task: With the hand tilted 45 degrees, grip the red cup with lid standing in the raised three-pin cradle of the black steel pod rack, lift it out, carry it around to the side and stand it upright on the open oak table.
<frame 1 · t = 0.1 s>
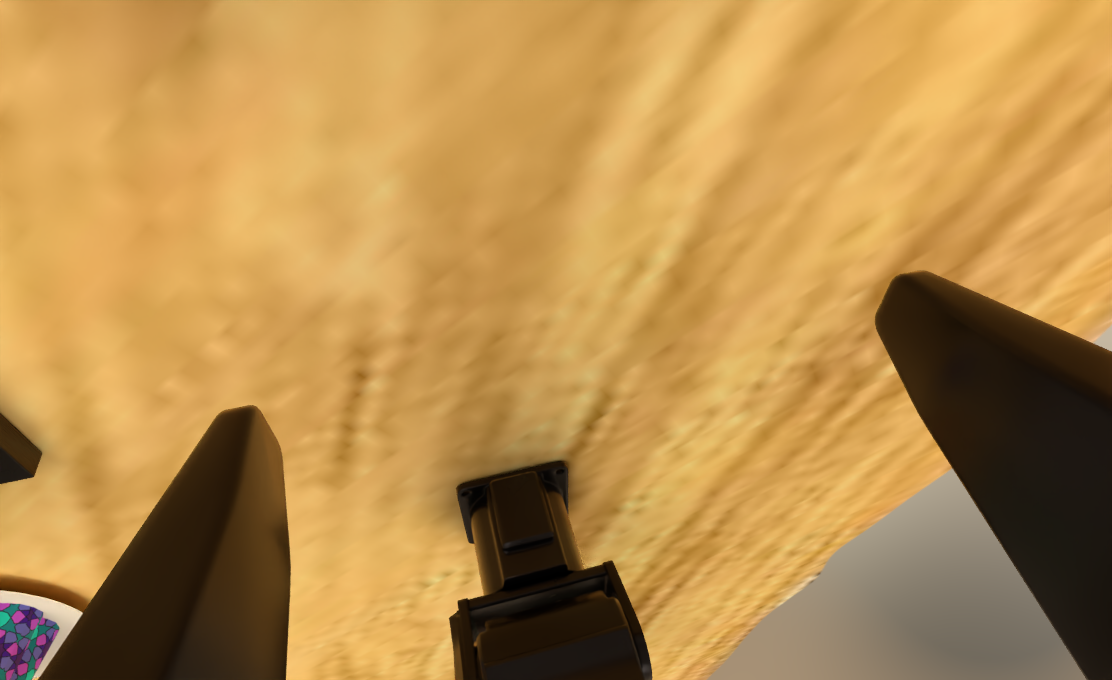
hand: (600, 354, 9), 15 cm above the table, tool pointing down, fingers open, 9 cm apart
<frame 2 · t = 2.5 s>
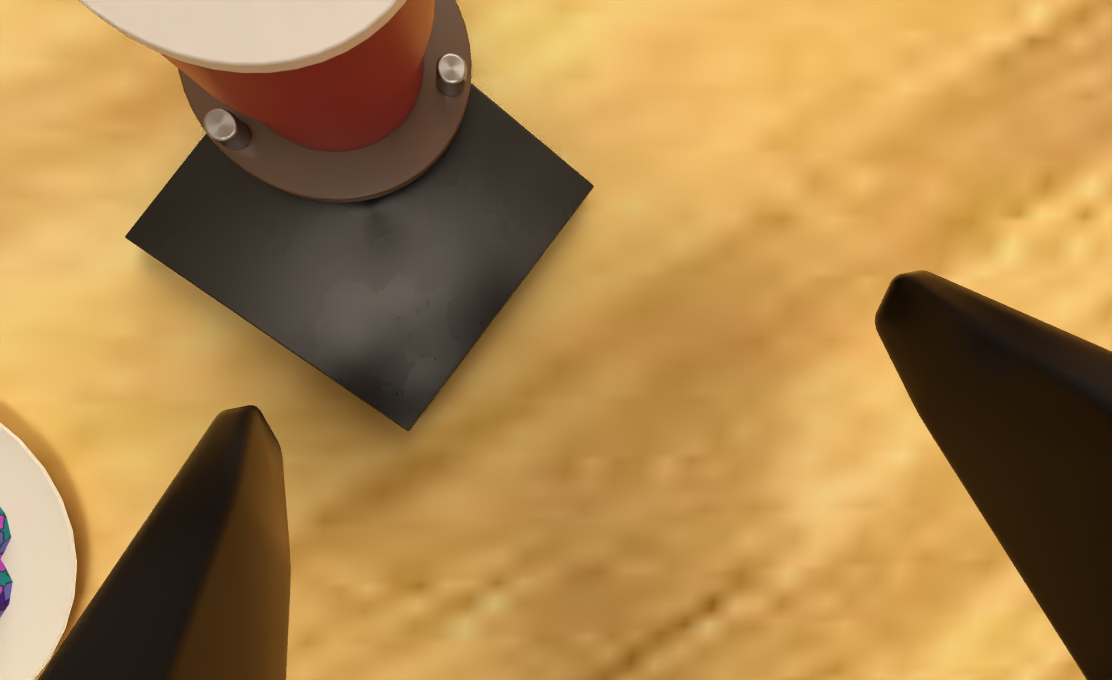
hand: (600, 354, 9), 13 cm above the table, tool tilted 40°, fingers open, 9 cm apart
pod rack: (346, 92, 20), on the table
red cup with lid: (329, 56, 17), point 3 cm above the table, touching pod rack
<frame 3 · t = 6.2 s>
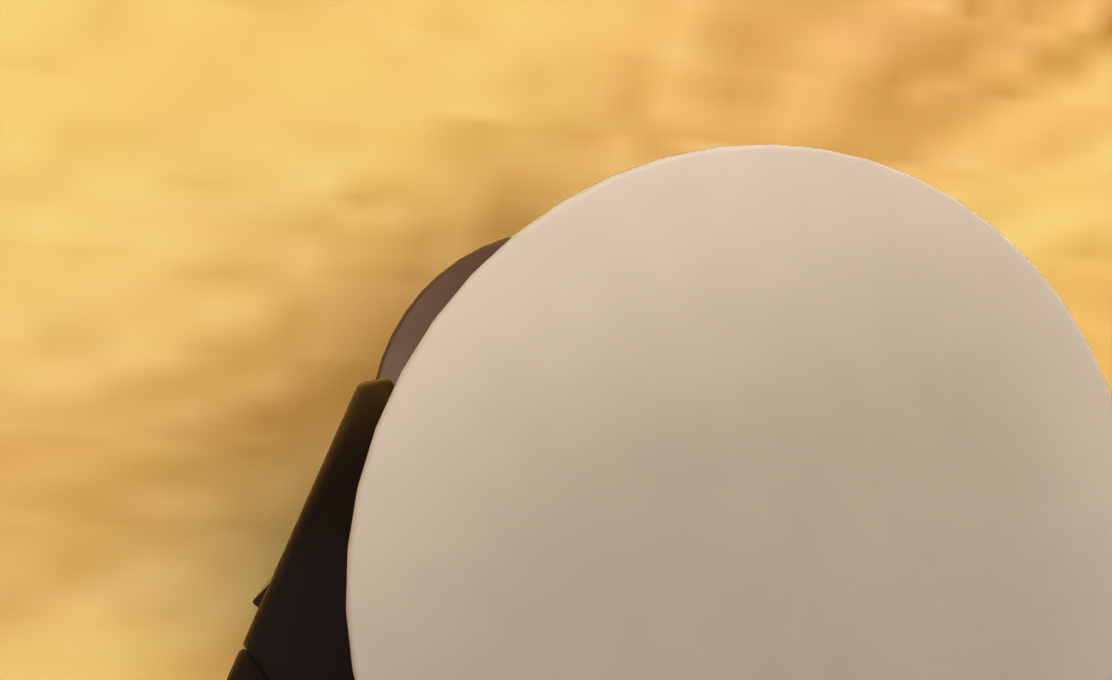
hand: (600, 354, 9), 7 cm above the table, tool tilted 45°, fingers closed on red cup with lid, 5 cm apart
pod rack: (541, 401, 16), on the table
red cup with lid: (564, 417, 13), point 3 cm above the table, touching gripper, pod rack
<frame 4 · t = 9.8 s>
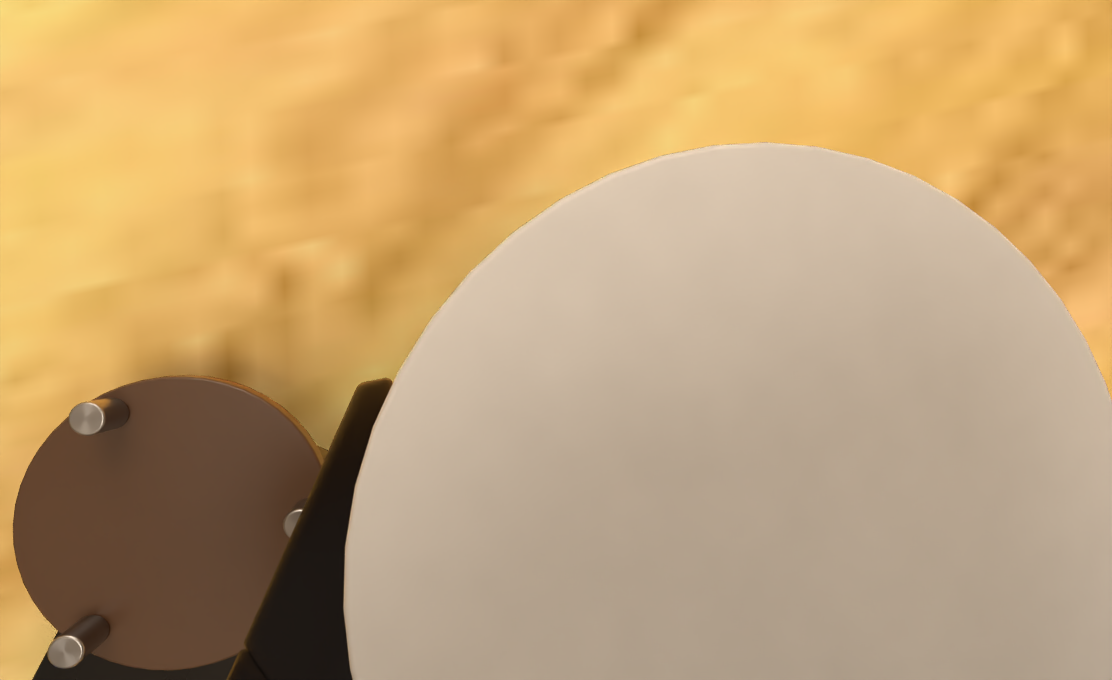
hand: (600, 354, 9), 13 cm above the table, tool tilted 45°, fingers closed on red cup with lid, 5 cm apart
pod rack: (222, 493, 20), on the table
red cup with lid: (564, 417, 13), point 8 cm above the table, touching gripper
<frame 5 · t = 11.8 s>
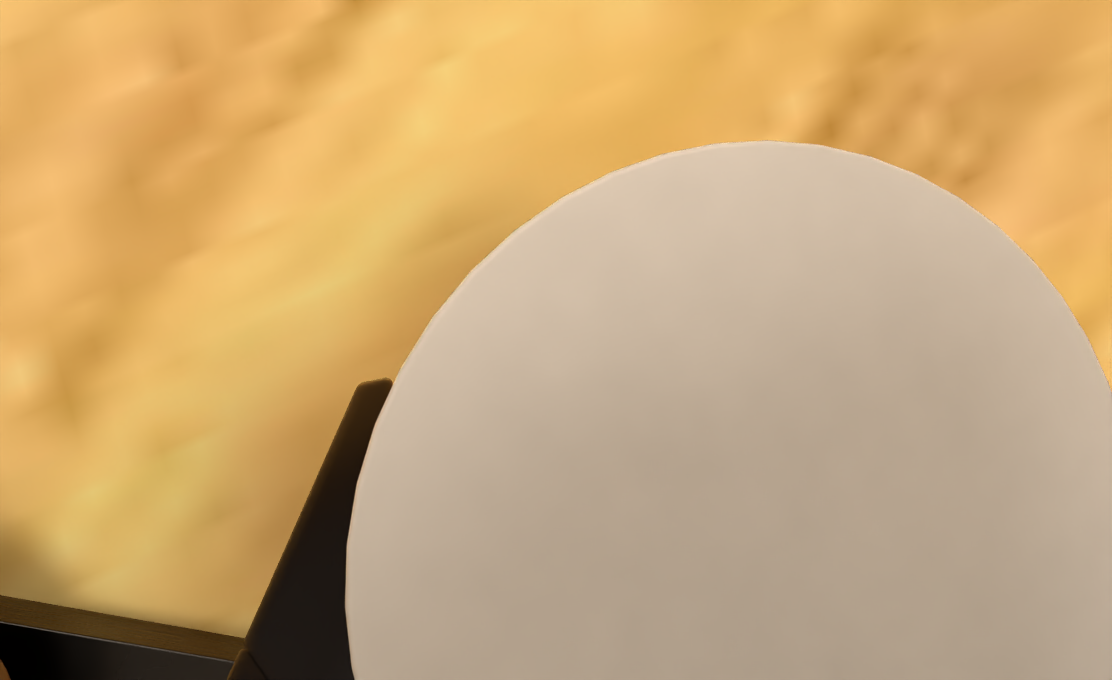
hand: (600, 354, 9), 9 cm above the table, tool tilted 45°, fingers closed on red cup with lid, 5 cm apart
red cup with lid: (564, 416, 13), point 5 cm above the table, touching gripper
when the fingers open (4 cm above the table, at t = 13.8 s): red cup with lid stays where it is, on the table.
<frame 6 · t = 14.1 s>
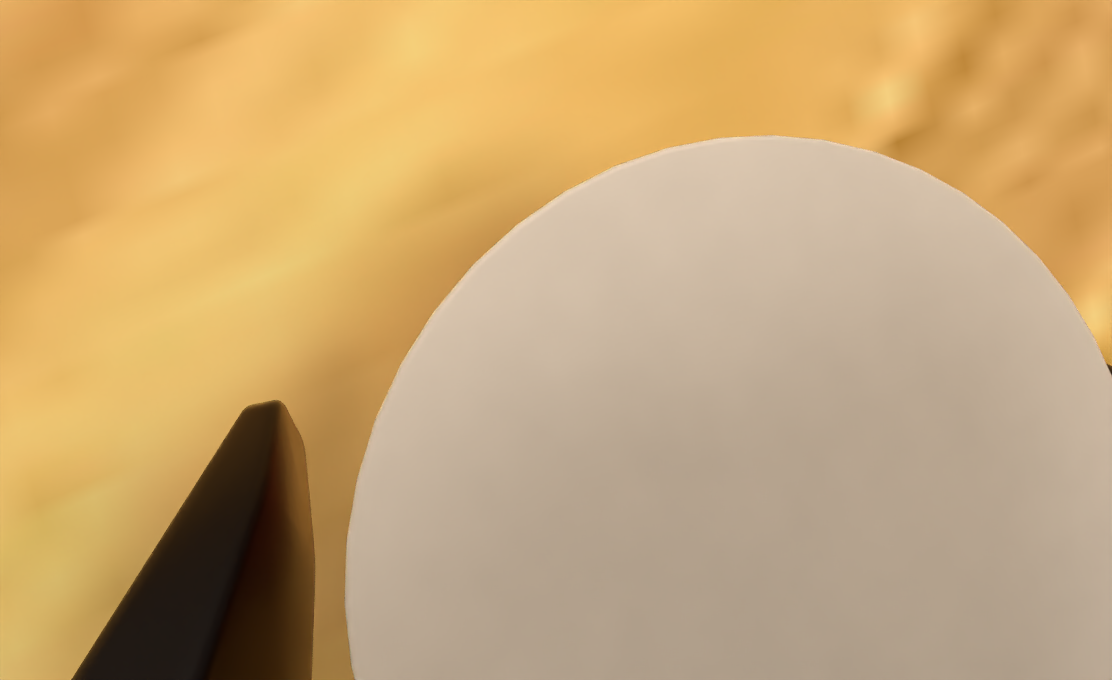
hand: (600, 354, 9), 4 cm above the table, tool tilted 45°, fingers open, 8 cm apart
red cup with lid: (565, 415, 13), on the table
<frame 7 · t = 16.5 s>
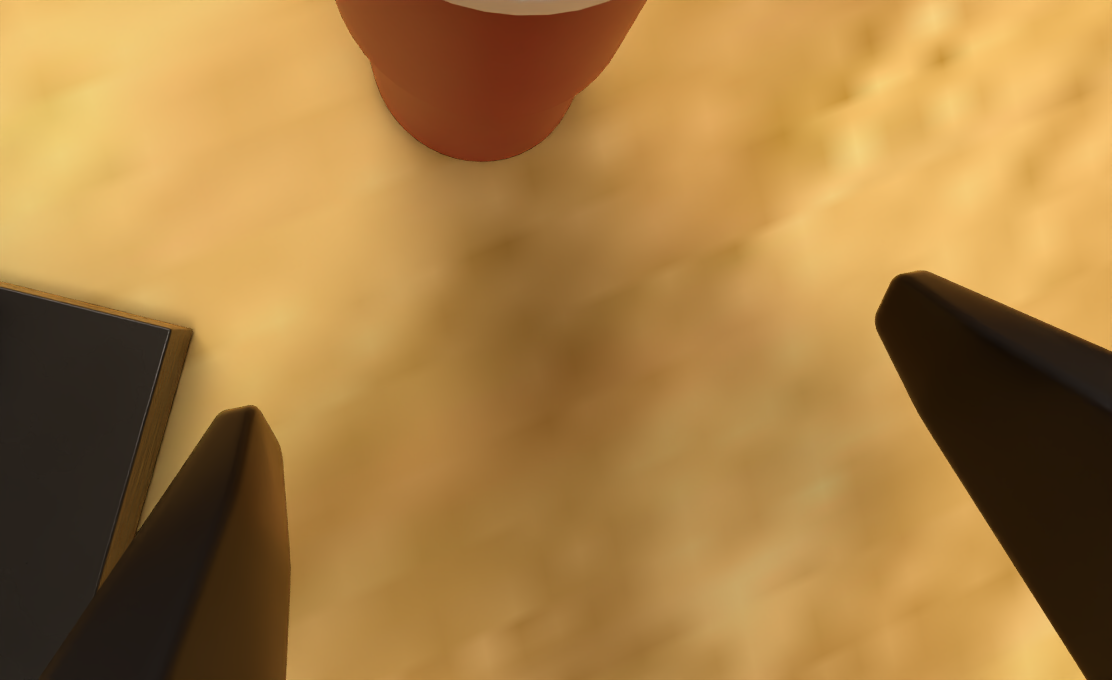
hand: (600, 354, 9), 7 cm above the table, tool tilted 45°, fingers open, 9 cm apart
red cup with lid: (477, 59, 16), on the table
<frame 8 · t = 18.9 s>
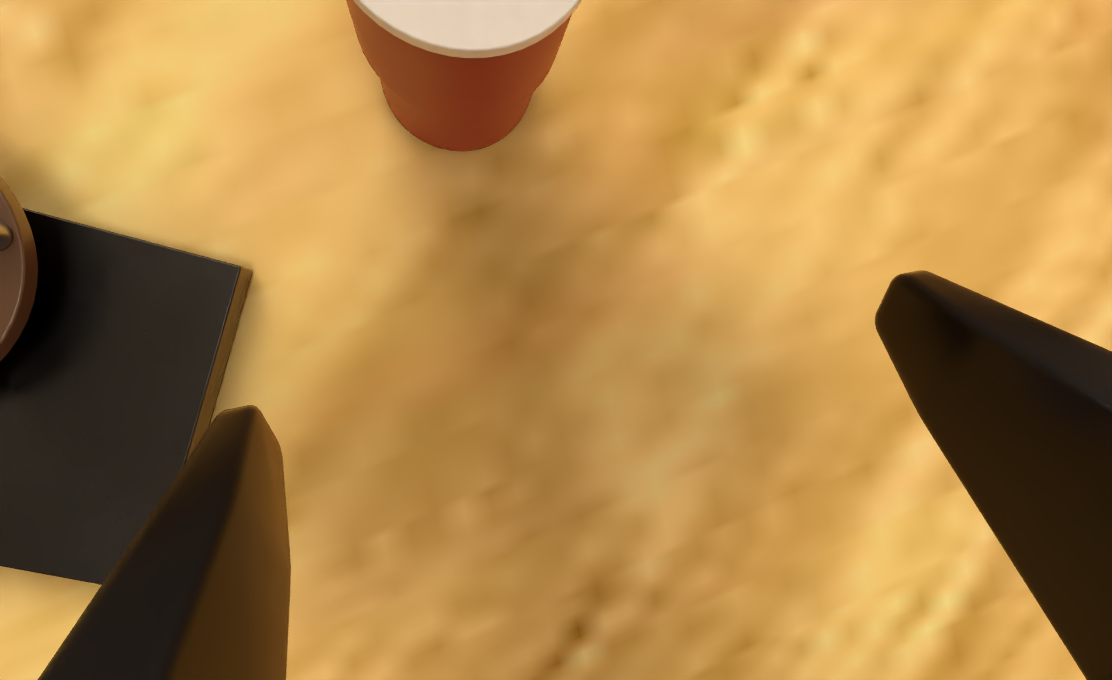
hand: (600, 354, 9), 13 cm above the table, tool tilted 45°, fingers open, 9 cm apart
red cup with lid: (457, 76, 21), on the table
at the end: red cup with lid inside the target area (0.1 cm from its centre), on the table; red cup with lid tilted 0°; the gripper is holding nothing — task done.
